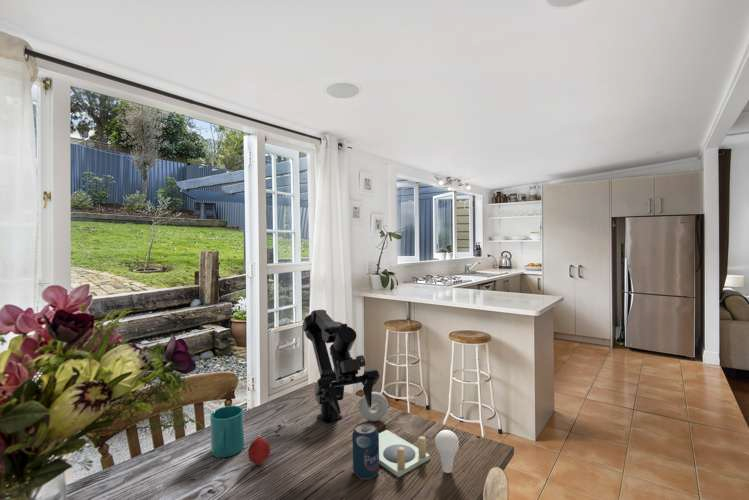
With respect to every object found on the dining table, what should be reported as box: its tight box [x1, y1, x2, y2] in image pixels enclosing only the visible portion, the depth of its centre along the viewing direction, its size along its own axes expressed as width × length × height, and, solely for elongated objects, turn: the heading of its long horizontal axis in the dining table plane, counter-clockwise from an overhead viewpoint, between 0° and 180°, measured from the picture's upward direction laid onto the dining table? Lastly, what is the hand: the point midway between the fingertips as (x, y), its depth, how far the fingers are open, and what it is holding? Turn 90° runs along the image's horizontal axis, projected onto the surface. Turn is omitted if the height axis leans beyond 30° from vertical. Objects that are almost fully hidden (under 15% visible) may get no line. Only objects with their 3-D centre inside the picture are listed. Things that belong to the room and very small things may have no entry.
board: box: [378, 429, 431, 478], centre depth 106 cm, size 18×12×6 cm, turn 39°
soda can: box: [352, 421, 380, 480], centre depth 98 cm, size 7×7×12 cm
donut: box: [358, 391, 389, 423], centre depth 125 cm, size 10×4×10 cm, turn 93°
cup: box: [209, 405, 245, 459], centre depth 108 cm, size 9×12×11 cm
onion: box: [247, 435, 271, 466], centre depth 102 cm, size 6×6×8 cm
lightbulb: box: [434, 429, 460, 474], centre depth 97 cm, size 6×6×11 cm
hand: (355, 410), depth 104 cm, fingers open, 9 cm apart
